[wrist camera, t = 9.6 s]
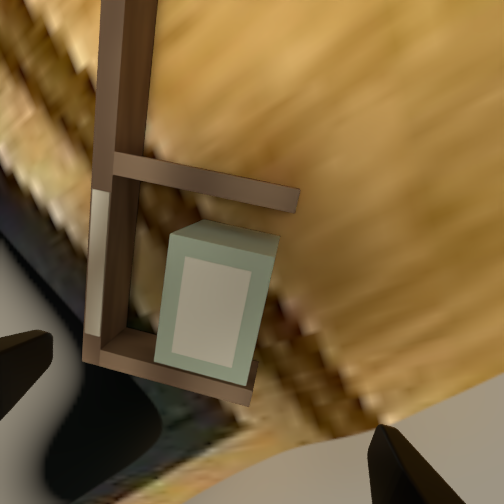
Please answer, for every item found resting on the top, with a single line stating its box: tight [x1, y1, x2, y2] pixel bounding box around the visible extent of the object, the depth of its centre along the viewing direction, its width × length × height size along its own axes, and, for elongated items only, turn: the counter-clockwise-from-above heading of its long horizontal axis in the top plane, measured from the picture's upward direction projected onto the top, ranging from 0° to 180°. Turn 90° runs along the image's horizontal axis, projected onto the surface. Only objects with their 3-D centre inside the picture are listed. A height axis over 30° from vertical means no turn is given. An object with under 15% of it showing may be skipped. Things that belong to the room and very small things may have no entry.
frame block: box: [154, 219, 280, 386], centre depth 17 cm, size 5×7×6 cm
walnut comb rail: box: [82, 0, 300, 407], centre depth 17 cm, size 11×26×3 cm, turn 169°
